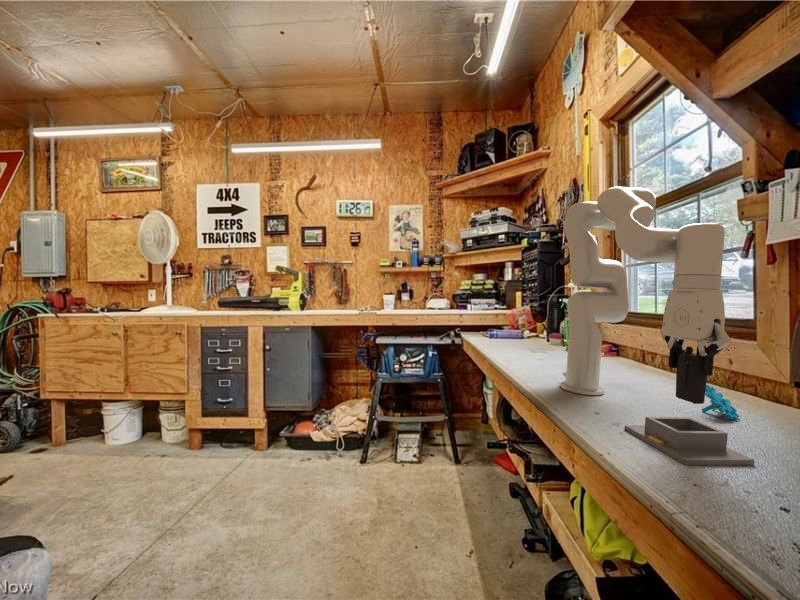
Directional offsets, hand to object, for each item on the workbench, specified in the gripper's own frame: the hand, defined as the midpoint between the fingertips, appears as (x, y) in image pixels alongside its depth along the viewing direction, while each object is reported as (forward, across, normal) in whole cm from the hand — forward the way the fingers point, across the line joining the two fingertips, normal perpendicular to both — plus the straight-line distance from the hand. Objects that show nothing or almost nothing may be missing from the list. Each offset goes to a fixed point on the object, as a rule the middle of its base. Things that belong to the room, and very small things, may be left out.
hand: (689, 370), depth 74 cm
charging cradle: (+16, 0, 0) cm, 16 cm away
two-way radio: (+7, 0, 0) cm, 7 cm away
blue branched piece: (+16, -18, +28) cm, 37 cm away
